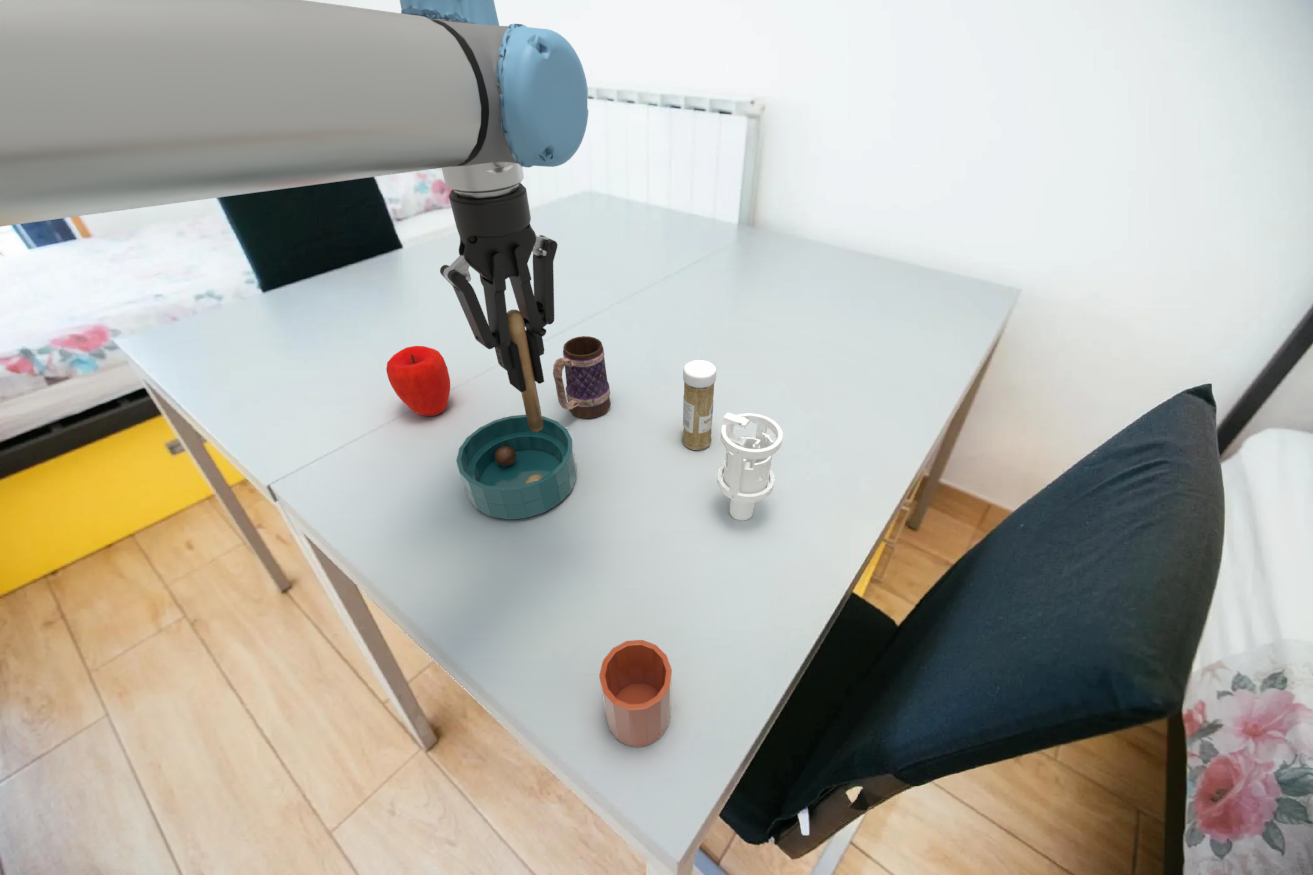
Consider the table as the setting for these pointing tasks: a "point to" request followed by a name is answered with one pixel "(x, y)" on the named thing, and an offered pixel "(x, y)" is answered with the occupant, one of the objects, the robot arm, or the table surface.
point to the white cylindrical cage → (747, 463)
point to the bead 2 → (533, 478)
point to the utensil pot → (636, 692)
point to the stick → (525, 370)
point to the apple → (420, 379)
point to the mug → (583, 378)
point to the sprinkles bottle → (698, 403)
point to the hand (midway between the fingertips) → (527, 382)
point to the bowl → (517, 467)
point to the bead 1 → (505, 456)
